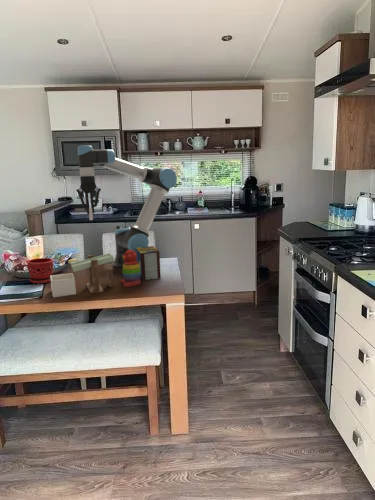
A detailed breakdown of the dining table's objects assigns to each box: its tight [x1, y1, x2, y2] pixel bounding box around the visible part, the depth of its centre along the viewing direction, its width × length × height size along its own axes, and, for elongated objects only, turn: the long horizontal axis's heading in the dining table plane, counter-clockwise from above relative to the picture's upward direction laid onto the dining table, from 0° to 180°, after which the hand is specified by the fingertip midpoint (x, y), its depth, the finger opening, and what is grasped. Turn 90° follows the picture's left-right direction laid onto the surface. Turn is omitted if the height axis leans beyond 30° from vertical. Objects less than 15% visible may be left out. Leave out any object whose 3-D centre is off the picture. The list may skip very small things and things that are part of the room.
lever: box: [67, 253, 115, 272], centre depth 193 cm, size 21×18×3 cm
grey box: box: [50, 272, 77, 298], centre depth 185 cm, size 11×11×8 cm
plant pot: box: [26, 257, 54, 285], centre depth 205 cm, size 13×13×12 cm
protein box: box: [136, 245, 162, 281], centre depth 210 cm, size 10×15×16 cm
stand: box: [85, 254, 115, 294], centre depth 191 cm, size 12×15×16 cm
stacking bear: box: [119, 250, 142, 288], centre depth 197 cm, size 11×10×18 cm
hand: (91, 219), depth 206 cm, fingers closed
